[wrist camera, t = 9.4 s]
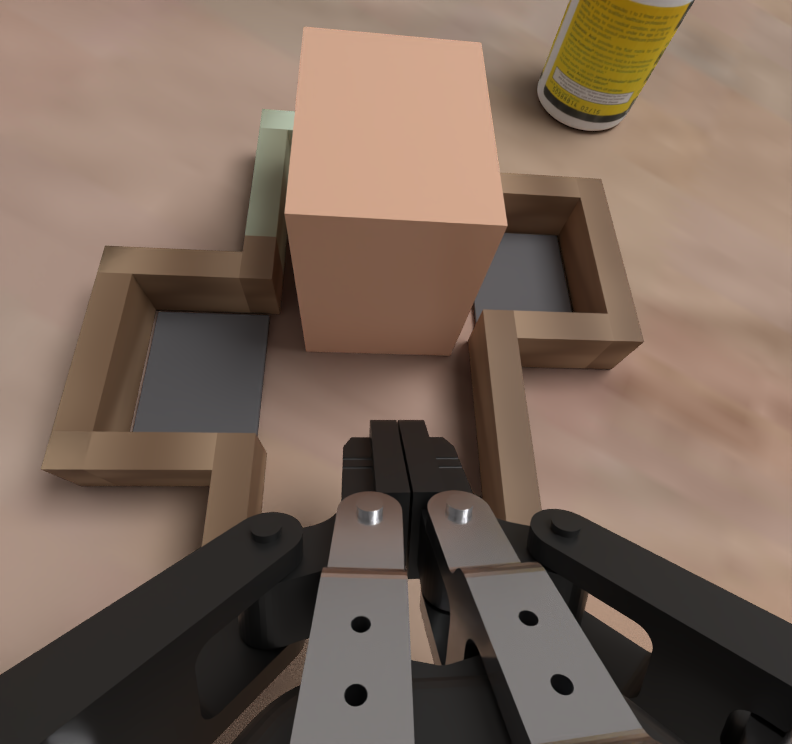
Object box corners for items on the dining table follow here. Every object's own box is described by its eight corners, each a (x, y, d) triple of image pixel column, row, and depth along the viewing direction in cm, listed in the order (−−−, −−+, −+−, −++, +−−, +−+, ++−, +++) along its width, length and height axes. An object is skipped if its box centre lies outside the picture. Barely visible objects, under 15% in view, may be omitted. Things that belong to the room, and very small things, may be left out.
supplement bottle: (634, 139, 27) (772, -80, 18) (540, 130, 27) (637, -98, 18) (616, 76, 30) (732, -146, 21) (529, 67, 29) (610, -163, 20)
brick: (306, 352, 20) (284, 213, 13) (316, 203, 23) (303, 26, 16) (450, 356, 20) (507, 225, 13) (439, 210, 24) (481, 43, 17)
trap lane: (51, 607, 15) (0, 609, 13) (165, 147, 24) (146, 100, 21) (662, 594, 17) (710, 593, 15) (567, 173, 26) (589, 132, 23)
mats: (132, 447, 18) (129, 445, 17) (180, 219, 22) (179, 216, 22) (596, 450, 19) (599, 449, 19) (554, 238, 24) (556, 235, 23)
